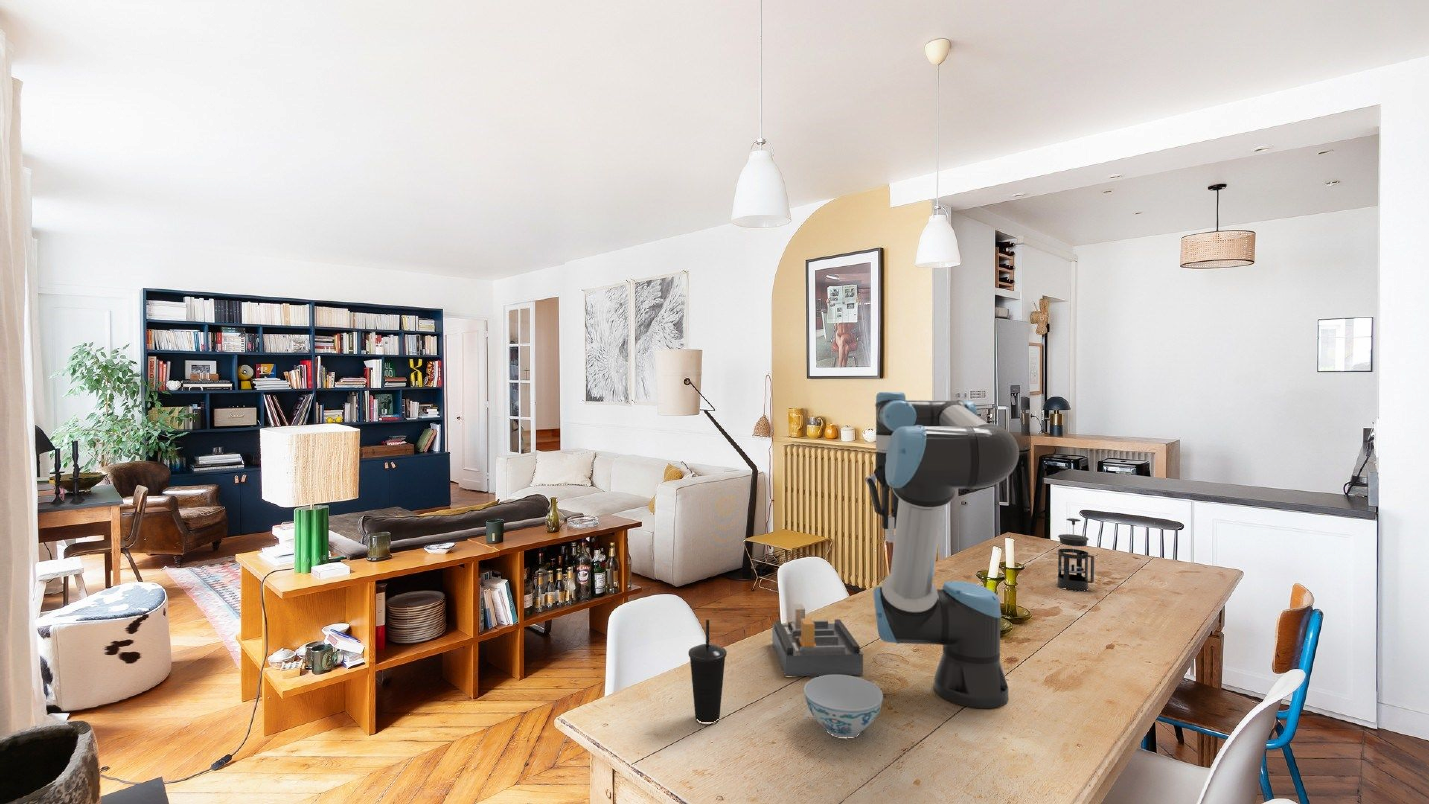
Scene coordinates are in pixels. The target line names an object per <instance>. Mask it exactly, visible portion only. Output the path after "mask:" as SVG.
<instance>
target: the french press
mask: <svg viewBox="0 0 1429 804" xmlns="http://www.w3.org/2000/svg"><path fill="white" fill-rule="evenodd" d="M1065 520H1066V521H1069V522H1071V525H1072V534H1067V533H1064V534H1058V536H1057V537H1058V538H1059V543H1060V544H1062V545H1065V546H1069V547H1070V546H1071V547H1072V548H1059V549H1058V550H1057V555H1058V557H1057V558H1058V562H1057V564H1058V565H1057V566H1058V568H1057V569H1058V571H1057V574H1058V575H1057V583H1056V586H1057V585H1058V586H1059V587H1060V588H1059V587H1058V586H1057V587H1058V588H1059V589H1061V588H1066V589H1069V590H1076V591H1075V592H1078V591H1083V592H1085V591H1084V590H1087V589H1088V588H1089V584H1093V583H1095V556H1094V555H1092V554H1089V552H1088V551H1085V550H1082V549H1077V548H1075V547H1086V546H1088V541H1089V537H1087V536H1085V535H1084V536H1083V535H1079V534H1075V525H1076V522H1081V519H1079V518H1073V517H1071V518H1070V517H1069V518H1065ZM1070 553H1071V554H1070ZM1062 558H1063V564H1062ZM1089 558H1090V580H1089V575H1088V574H1089ZM1070 559H1072V562H1071V563H1072V564H1071V565H1070ZM1074 560H1076V564H1074V562H1075V561H1074ZM1083 560H1084V567H1083ZM1062 572H1063V573H1062ZM1083 574H1084V576H1083ZM1089 589H1090V588H1089ZM1069 590H1068V591H1069Z"/></svg>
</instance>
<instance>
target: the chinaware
mask: <svg viewBox="0 0 1429 804" xmlns="http://www.w3.org/2000/svg"><path fill="white" fill-rule="evenodd" d="M803 692H804V697H805V701H806V702H805V703H806V704H807V707H808V710H809V711H810V714H811V715H812V716H813V718H814V719H815V720H816V721H817V722H818V723H819V724H820V725H821V727H823V728H826V729H825V731H826V730H827V731H828V732H829V733H830V734H833V735H834V736H837V737H847V738H848V737H856V736H857V735H858V734H860V735H861V733H862V731H865V730H866V729H867V728H869V727H870V726H871V725H872V724H873V723H874V722H875V720H876V719H877V717H878V715H879V713H880V710H881V709H882V704H883V700H884V694H883V691H882V689H881V688H880V687H879V686H878V685H876V684H875V683H874V682H871V681H869V680H867V679H865V678H862V677H858V676H848V675H824V676H820V677H813V678H812V679H809V680H808V681H807V682H806V683H805V685H804V687H803ZM860 732H861V733H860ZM856 738H857V737H856Z"/></svg>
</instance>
